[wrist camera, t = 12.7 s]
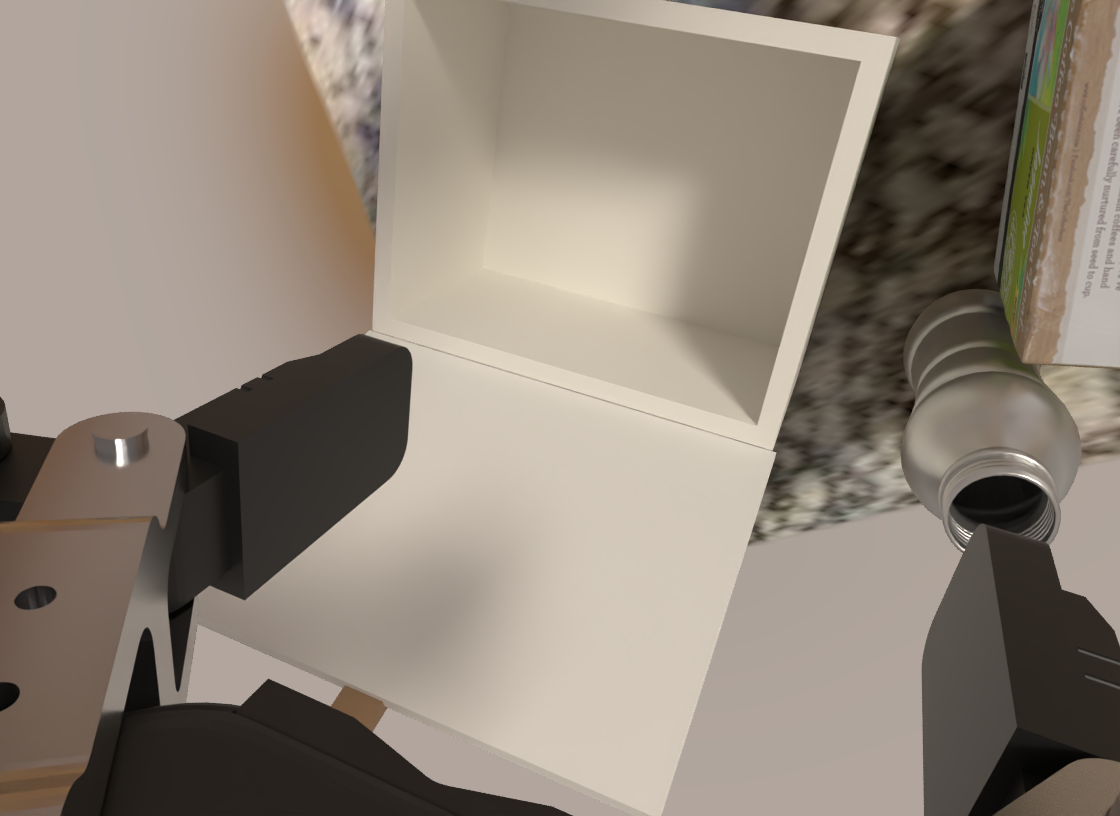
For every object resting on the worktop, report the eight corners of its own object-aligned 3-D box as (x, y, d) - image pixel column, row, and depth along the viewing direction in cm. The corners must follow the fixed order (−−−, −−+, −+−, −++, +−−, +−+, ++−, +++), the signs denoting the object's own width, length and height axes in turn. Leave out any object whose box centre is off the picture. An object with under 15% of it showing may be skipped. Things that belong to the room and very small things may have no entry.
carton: (501, -25, 47) (386, -44, 37) (900, 38, 41) (896, 37, 31) (472, 276, 55) (372, 330, 45) (801, 365, 49) (772, 450, 39)
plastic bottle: (1060, 303, 43) (1158, 475, 26) (996, 413, 46) (1046, 630, 29) (936, 261, 44) (952, 399, 27) (882, 370, 47) (866, 554, 30)
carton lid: (3, 679, 29) (49, 732, 31) (607, 982, 23) (598, 1015, 25) (366, 317, 44) (376, 373, 47) (780, 440, 38) (763, 496, 41)
